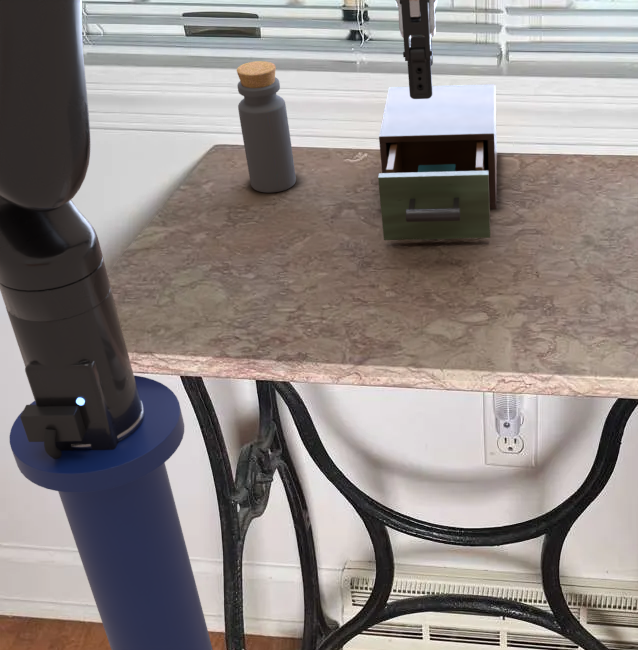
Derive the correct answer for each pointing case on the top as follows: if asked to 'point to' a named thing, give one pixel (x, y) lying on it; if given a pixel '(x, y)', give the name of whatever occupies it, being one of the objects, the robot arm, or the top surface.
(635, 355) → the top surface
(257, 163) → the bottle
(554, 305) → the top surface
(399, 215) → the drawer
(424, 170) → the block
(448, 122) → the cabinet
